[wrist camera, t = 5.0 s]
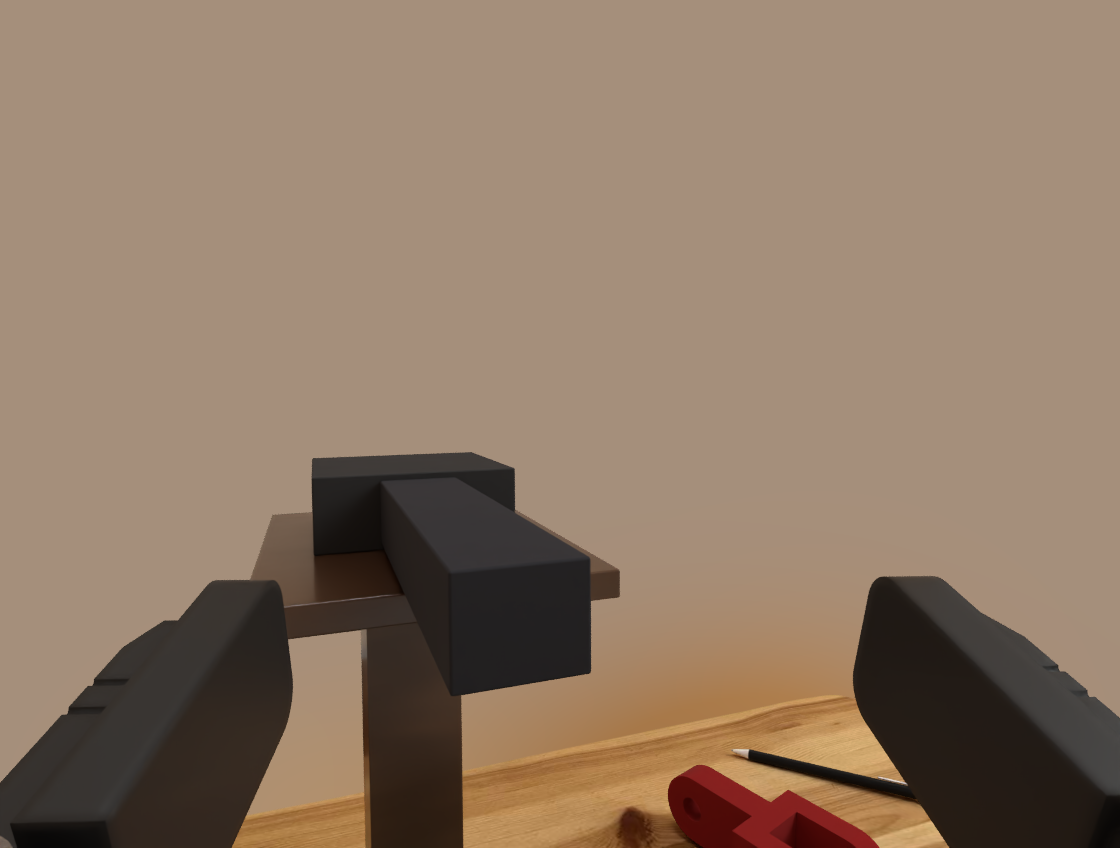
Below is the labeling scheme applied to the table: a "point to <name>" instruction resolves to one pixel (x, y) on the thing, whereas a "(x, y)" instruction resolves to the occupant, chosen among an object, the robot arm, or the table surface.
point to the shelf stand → (388, 679)
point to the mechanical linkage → (753, 816)
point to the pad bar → (463, 563)
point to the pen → (829, 773)
